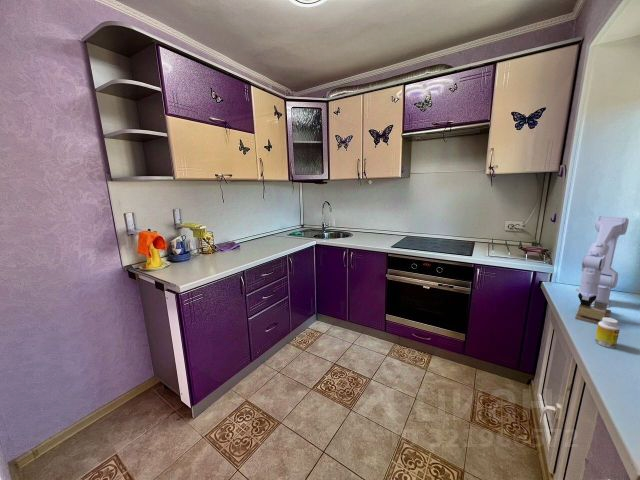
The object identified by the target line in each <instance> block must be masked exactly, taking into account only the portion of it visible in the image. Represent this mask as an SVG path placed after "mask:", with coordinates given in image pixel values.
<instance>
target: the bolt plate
mask: <svg viewBox="0 0 640 480" xmlns="http://www.w3.org/2000/svg"><path fill="white" fill-rule="evenodd" d="M590 307H592V308H594V305H591V306H590ZM611 313H612V310H611V309H608V308H607V309H606V313H605V317H607V318H611V317H610V316H611ZM574 319H575V320H579V321H581V322H582V321H583V322H587V323H589V324H593V323H594V325H597V326H598V323H599V322H600V320H599V319H598V320H596V319H595V318H591V317H587V316H583V315H579V314H578V311H577V313H576V315H575V317H574Z"/></svg>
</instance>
